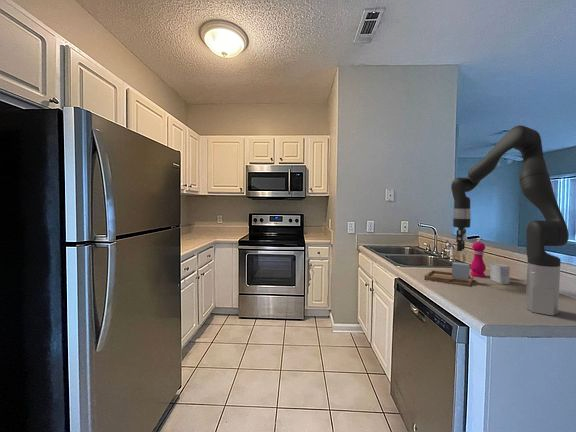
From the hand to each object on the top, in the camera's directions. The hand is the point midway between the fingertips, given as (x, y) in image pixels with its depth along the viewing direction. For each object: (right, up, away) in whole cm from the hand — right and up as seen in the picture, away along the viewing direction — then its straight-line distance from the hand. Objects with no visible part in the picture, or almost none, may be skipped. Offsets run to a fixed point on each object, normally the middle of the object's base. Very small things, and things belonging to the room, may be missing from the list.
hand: (460, 250), depth 152 cm
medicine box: (+20, -16, 0) cm, 25 cm away
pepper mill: (+16, -16, +13) cm, 26 cm away
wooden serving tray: (-4, -16, +4) cm, 17 cm away
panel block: (0, -15, +1) cm, 15 cm away
